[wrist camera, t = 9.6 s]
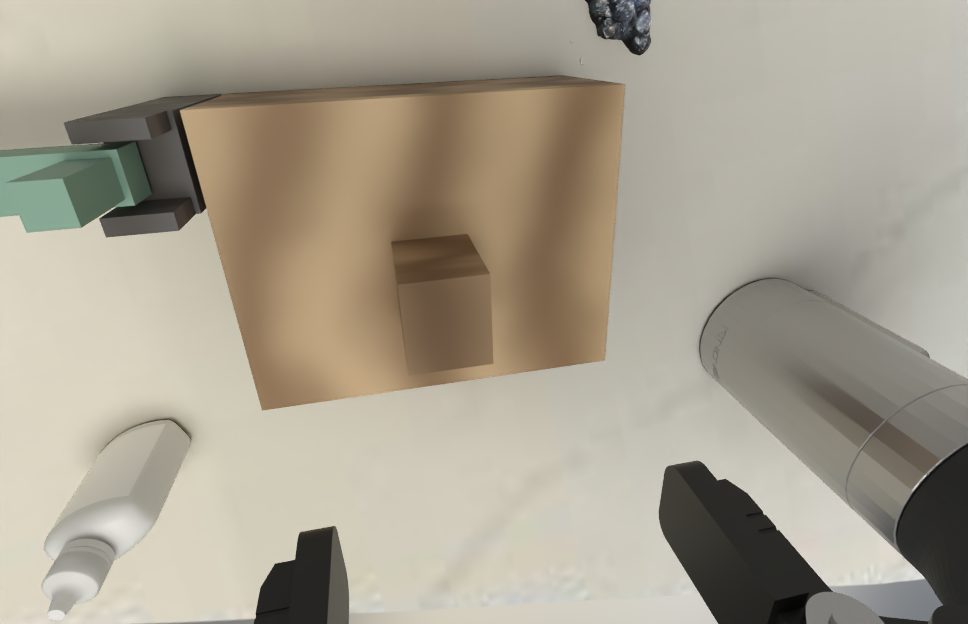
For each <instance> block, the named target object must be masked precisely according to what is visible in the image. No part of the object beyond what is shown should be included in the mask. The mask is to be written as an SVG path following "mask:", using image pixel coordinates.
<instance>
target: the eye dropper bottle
mask: <svg viewBox="0 0 968 624" xmlns="http://www.w3.org/2000/svg"><path fill="white" fill-rule="evenodd" d="M190 442H191V440H190V438H189V437H188V435H187V434H186V433H185V432H184V431H183V430H182V429H181V428H180V427H179V426H178V425H177V424H176V423H174V422H173V421H170V420H160V421H154V422H149V423H145V424H142V425H139V426H136V427H133V428H131V429H129V430H127V431H125V432H123V433H122V434H120V435H119V436H117V437H116V438H115V439H113V440H112V441H111V442H110V443H109V444H108V445H107V446H106V447H105V448H104V449H103V450H102V452H101V453H100V454H99V456H98V457H97V459H96V460H95V462H94V463H93V465H92V467H91V468H90V470H89V471H88V473H87V474H86V476H85V477H84V479H83V481H82V482H81V484H80V485H79V487H78V488H77V490H76V491H75V493H74V495H73V496H72V498H71V499H70V501H69V502H68V504H67V506H66V507H65V509H64V510H63V512H62V513H61V515H60V517H59V518H58V520H57V521H56V523H55V525H54V526H53V528H52V529H51V531H50V533H49V534H48V536H47V538H46V540H45V543H44V550H45V552H46V554H47V555H48V556H49V557H50V558H51V559H52V560H54V561H55V562H54V564H53V565H52V567H51V569H50V570H49V572H48V574H47V575H46V577H45V579H44V580H43V582H42V591H43V593H44V594H45V596H46V597H47V598H49V599H50V600H52V601H51V604H50V607H49V610H48V614H47V616H48V618H49V619H52V620H61V619H63V618H64V617H65V616H66V614H67V613H68V612H69V610H70V609H71V608H72V607H73V605H76V604H82V603H85V602H87V601H90V600H91V599H93V598H94V597H95V596H96V595H97V594H98V593H99V591H100V588H101V586H102V584H103V582H104V580H105V578H106V576H107V574H108V572H109V570H110V568H111V566H112V564H113V562H114V560H116V559H118V558H120V557H121V556H123V555H124V554H126V553H127V552H128V551H130V550H131V549H132V548H134V547H135V546H136V545H137V544H138V543H139V542H140V541H141V540H142V539H143V538H144V537H145V536H146V535H147V534H148V532H149V531H150V530H151V529H152V527H153V525H154V524H155V522H156V521H157V518H158V516H159V514H160V512H161V510H162V508H163V506H164V503H165V501H166V499H167V497H168V494H169V492H170V490H171V487H172V485H173V483H174V481H175V478H176V476H177V474H178V471H179V469H180V467H181V464H182V462H183V460H184V458H185V455H186V453H187V451H188V448H189V446H190Z"/></svg>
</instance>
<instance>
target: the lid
mask: <svg viewBox="0 0 968 624" xmlns="http://www.w3.org/2000/svg"><path fill="white" fill-rule="evenodd" d="M624 94H625V84H619V83H601V84H583V85H566V86H548V87H531V88H514V89H496V90H479V91H461V92H444V93H426V94H409V95H392V96H374V97H357V98H339V99H322V100H305V101H287V102H270V103H252V104H235V105H217V106H200V107H188V108H185V109H182V110H180V113H181V117H182V120H183V124H184V128H185V131H186V135H187V139H188V142H189V146H190V149H191V153H192V157H193V160H194V164H195V168H196V171H197V175H198V179H199V182H200V186H201V189H202V193H203V197H204V200H205V204H206V208H207V211H208V215H209V219H210V222H211V226H212V230H213V233H214V237H215V240H216V244H217V248H218V251H219V255H220V259H221V262H222V266H223V270H224V273H225V277H226V280H227V284H228V288H229V291H230V295H231V299H232V302H233V306H234V310H235V313H236V317H237V320H238V324H239V328H240V331H241V335H242V339H243V342H244V346H245V350H246V353H247V357H248V360H249V364H250V368H251V371H252V375H253V379H254V382H255V386H256V390H257V393H258V397H259V400H260V404H261V408H262V410H268V409H275V408H282V407H289V406H296V405H302V404H309V403H316V402H323V401H330V400H337V399H343V398H350V397H357V396H364V395H371V394H378V393H385V392H391V391H398V390H405V389H412V388H419V387H426V386H432V385H439V384H446V383H453V382H460V381H467V380H473V379H480V378H487V377H494V376H501V375H508V374H515V373H521V372H528V371H535V370H542V369H549V368H556V367H562V366H569V365H576V364H583V363H590V362H597V361H603V360H605V352H606V339H607V325H608V311H609V298H610V284H611V271H612V257H613V243H614V230H615V216H616V203H617V189H618V175H619V162H620V148H621V135H622V121H623V107H624Z"/></svg>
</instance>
